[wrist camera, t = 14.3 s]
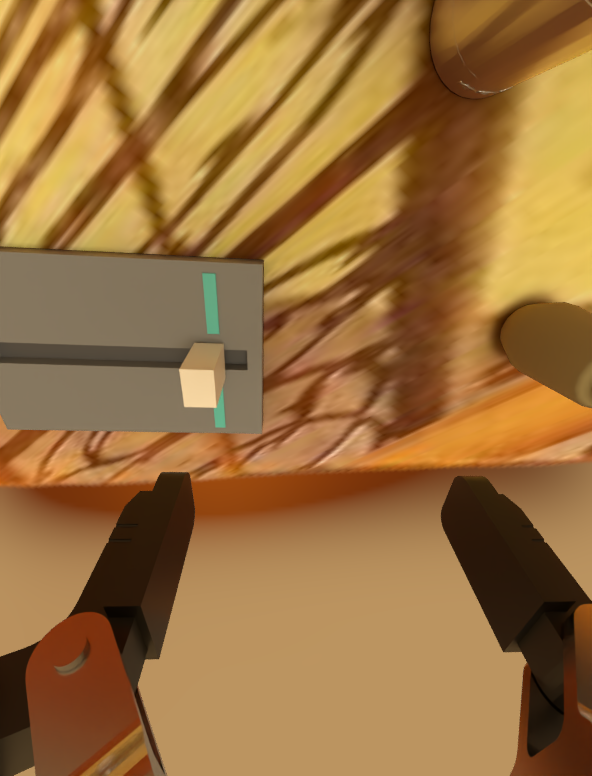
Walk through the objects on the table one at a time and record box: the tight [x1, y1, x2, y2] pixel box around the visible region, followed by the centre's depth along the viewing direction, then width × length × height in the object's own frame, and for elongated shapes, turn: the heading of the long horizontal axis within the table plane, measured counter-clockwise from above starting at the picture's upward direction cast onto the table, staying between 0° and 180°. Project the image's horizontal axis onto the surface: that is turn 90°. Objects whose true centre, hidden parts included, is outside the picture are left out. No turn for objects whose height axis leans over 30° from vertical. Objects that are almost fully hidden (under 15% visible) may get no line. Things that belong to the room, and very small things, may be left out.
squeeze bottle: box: [500, 302, 592, 408], centre depth 30 cm, size 8×8×18 cm
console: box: [0, 247, 264, 434], centre depth 36 cm, size 20×30×3 cm, turn 87°
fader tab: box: [179, 343, 226, 408], centre depth 33 cm, size 4×3×7 cm
